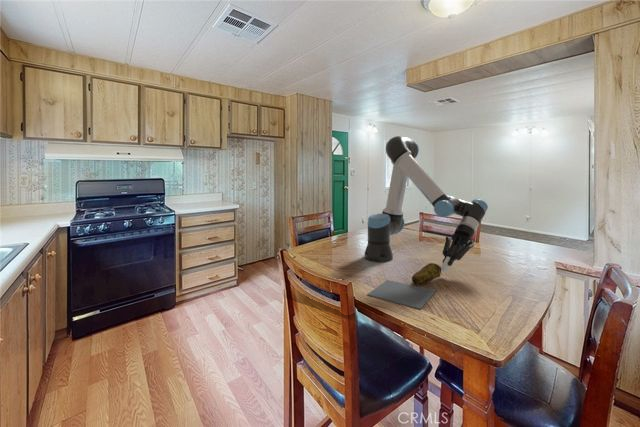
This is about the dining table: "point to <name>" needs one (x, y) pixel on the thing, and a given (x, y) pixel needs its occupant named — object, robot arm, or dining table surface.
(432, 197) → the robot arm
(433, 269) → the potato
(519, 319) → the dining table surface
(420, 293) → the mat
